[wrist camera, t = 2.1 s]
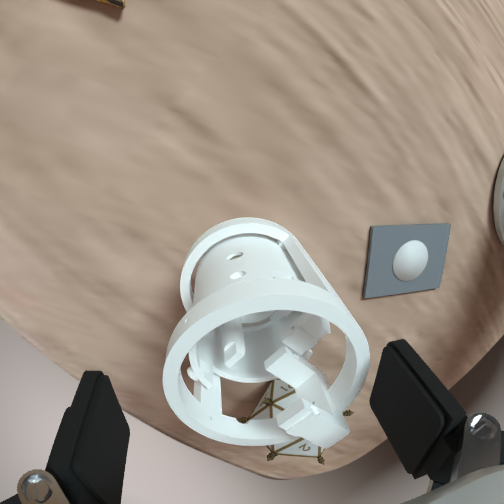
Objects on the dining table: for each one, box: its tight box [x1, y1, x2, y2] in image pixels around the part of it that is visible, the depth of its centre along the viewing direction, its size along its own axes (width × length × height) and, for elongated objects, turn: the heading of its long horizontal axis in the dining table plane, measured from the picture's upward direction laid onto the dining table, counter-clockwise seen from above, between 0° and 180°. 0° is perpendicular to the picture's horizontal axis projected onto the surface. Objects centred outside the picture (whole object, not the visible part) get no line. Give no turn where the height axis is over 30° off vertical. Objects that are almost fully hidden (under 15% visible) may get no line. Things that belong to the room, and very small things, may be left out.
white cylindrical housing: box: [163, 217, 370, 449], centre depth 16 cm, size 7×7×15 cm
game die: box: [239, 378, 354, 465], centre depth 25 cm, size 9×8×10 cm
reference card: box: [363, 224, 451, 298], centre depth 25 cm, size 8×6×1 cm
